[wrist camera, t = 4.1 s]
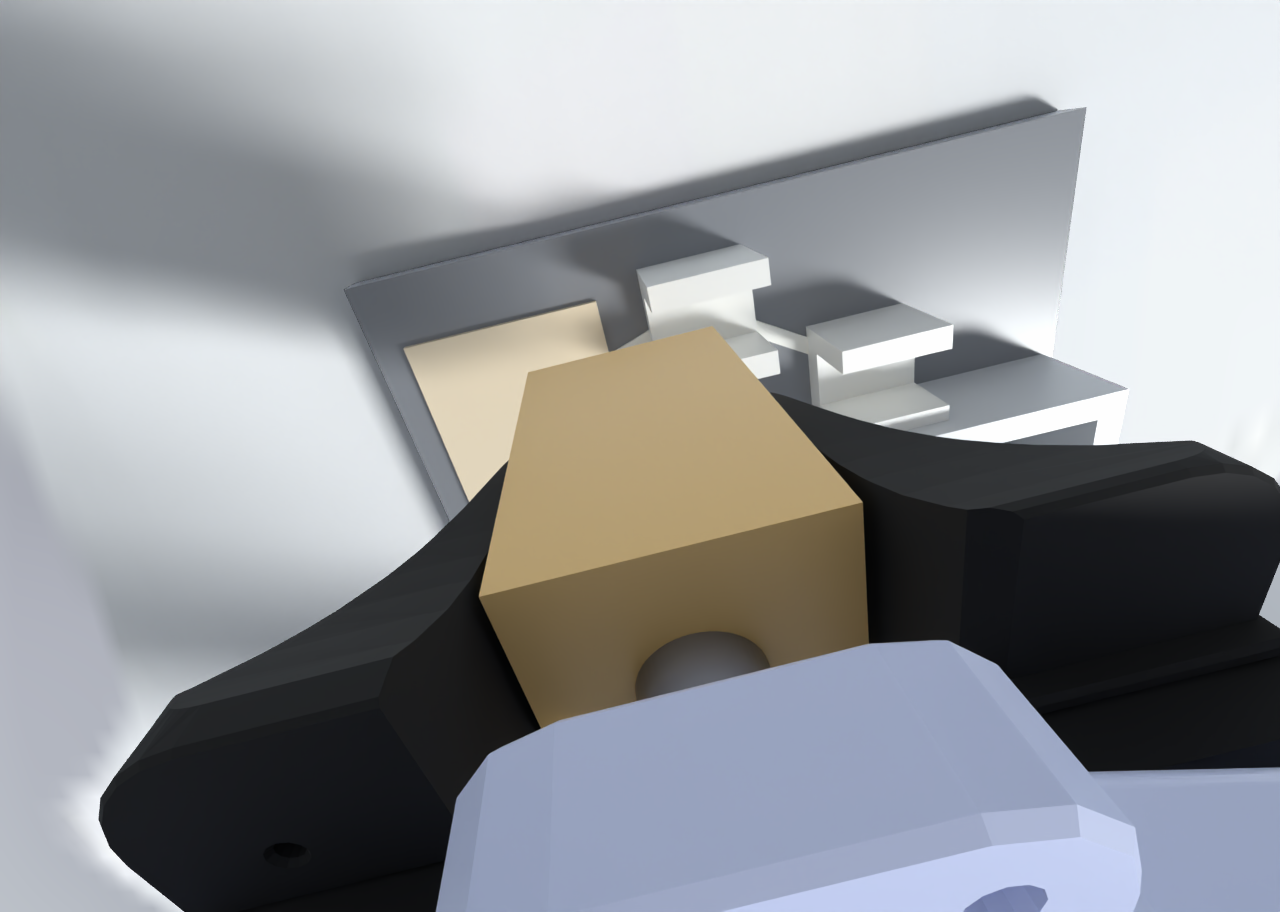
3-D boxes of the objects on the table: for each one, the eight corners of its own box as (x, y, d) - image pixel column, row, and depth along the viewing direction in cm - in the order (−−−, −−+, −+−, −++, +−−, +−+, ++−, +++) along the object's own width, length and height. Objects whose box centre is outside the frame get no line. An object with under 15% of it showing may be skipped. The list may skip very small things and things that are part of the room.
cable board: (1010, 531, 25) (1094, 602, 21) (518, 649, 25) (508, 743, 21) (1060, 110, 17) (1206, 93, 13) (355, 282, 17) (290, 318, 13)
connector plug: (738, 484, 14) (912, 824, 7) (578, 524, 14) (584, 902, 7) (712, 326, 12) (916, 564, 5) (527, 371, 12) (461, 676, 5)
